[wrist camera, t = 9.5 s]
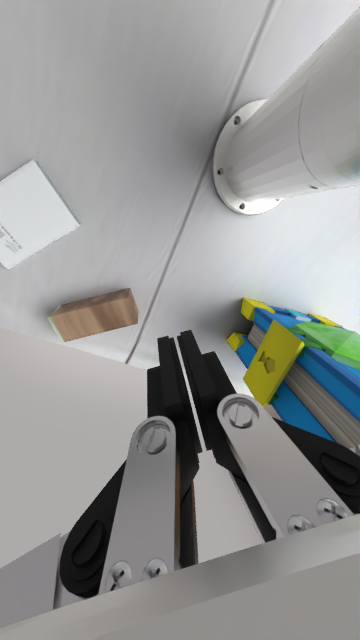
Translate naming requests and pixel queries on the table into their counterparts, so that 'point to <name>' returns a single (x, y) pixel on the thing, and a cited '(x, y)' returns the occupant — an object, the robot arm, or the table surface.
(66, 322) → the walnut block
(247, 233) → the table surface
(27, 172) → the external hard drive
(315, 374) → the decorative book
